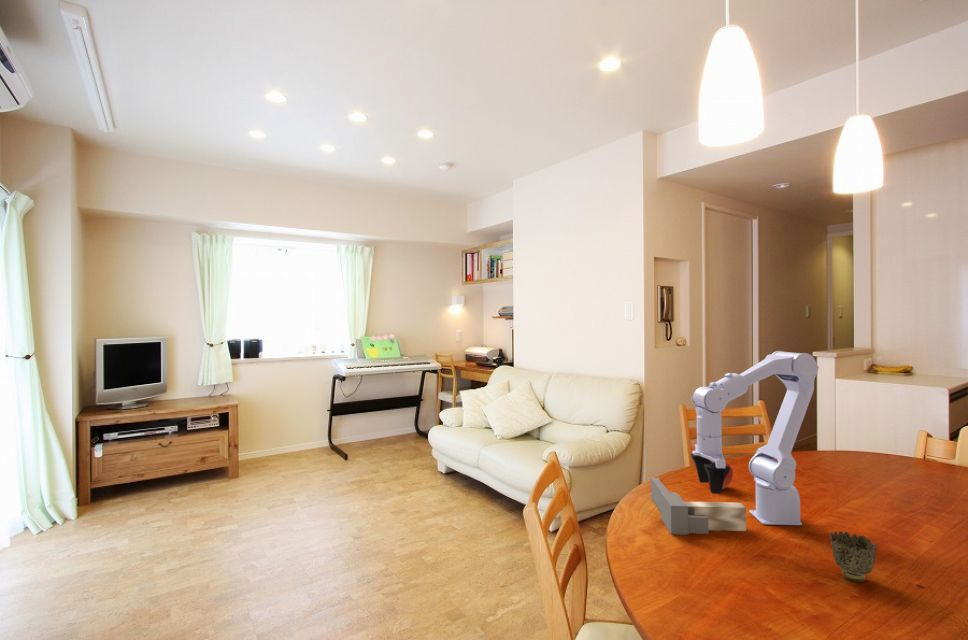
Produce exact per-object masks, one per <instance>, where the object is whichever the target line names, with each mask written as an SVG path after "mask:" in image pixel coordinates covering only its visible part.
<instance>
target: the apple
mask: <svg viewBox="0 0 968 640" xmlns="http://www.w3.org/2000/svg"><path fill="white" fill-rule="evenodd" d="M725 466H728V467H730V471H729V473H728V474H727V476H726V478H725V480H724V483H723V487H722V490H725V489H726V488H728V486H729V485H730V484H731V483H732V480H733V476H734V471H733V468H732V467H731V465H730V464H729V463H728V462H727V460H725ZM707 484H708V485H709V483H707Z"/></svg>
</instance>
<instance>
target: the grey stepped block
mask: <svg viewBox="0 0 968 640" xmlns="http://www.w3.org/2000/svg"><path fill="white" fill-rule="evenodd" d="M650 498H651V501H652V502H653V503H654V504H655V506H656V508H657V509H658V510H659V512H660V519H661V521H662V523H663V524H664V526H665V527H666V528H667V530H668V532H669V533H670V534H671V535H679V536H680V535H684V536H685V535H686V536H688V535H689V534H692V533H693V534H695V533H696V534H698V535H699V534H701V535H702V534H703V535H709V530H708V517H707V516H706V515H688V506H687V505H686V503H685V502H686V501H684V500H683V499H682V497H681V496H680V495H679V494H678V493H677V492H673V491H672V492H671V491H669V490H668V489H667V488H666V486H665V485H664V484H663V482H661V480H660V479H659V477H650Z"/></svg>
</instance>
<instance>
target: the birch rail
mask: <svg viewBox="0 0 968 640" xmlns="http://www.w3.org/2000/svg"><path fill="white" fill-rule="evenodd" d="M684 502H685V503H686V505H687V506H688V515H706V516H707V517H708V531H724V530H725V532H726V531H729V532H730V531H731V532H732V531H734V532H746V531H747V507H746V506H745V505H744V504H743V503H741V502H732V501H731V502H725V501H723V502H718V501H684Z"/></svg>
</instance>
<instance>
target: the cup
mask: <svg viewBox="0 0 968 640" xmlns="http://www.w3.org/2000/svg"><path fill="white" fill-rule="evenodd" d="M829 537H830V542H831V543H830V546H831V551H832V555H833V559H834V561H835V563H836V565H837V566H838V567H839V568H840V569H841V574H842V576H843V578H845V579H847V580H849V581H850V582H855V583H861V582H864V581H865V579H866V575H869V574H870V573H871V572H872V571H873V570H874V567H875V562H876V555H877V548H878V545H877V542H874V543H871V539H870V538H869V537H868V538H867V537H866V536H865V535H863V534H861V535H859V536H858V535H857V534H856V532H853V534H852V535H851V534H850V533H849V531H845V532H843V531H842V530H841V531H839V532H837V531H834V533H832V532H830V533H829Z"/></svg>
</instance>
